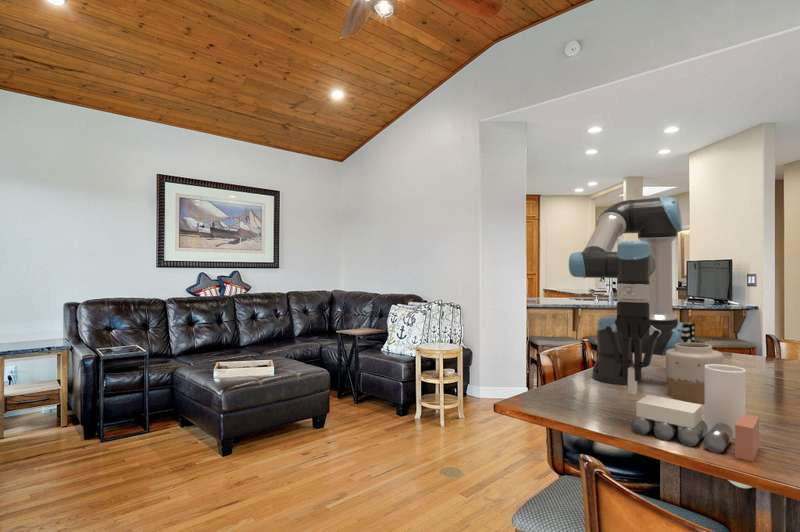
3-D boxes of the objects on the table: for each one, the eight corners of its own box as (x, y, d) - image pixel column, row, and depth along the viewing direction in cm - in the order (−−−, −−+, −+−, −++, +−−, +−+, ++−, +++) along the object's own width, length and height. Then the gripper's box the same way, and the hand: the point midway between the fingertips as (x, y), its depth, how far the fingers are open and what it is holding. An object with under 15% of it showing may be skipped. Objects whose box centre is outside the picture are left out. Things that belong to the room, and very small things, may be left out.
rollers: (631, 432, 110) (631, 416, 111) (643, 422, 118) (643, 407, 118) (725, 455, 97) (725, 436, 97) (733, 442, 104) (733, 425, 104)
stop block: (735, 457, 96) (735, 424, 96) (742, 444, 103) (742, 414, 103) (752, 461, 94) (752, 428, 94) (759, 448, 101) (759, 417, 101)
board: (636, 416, 110) (636, 402, 110) (647, 408, 117) (647, 394, 117) (693, 428, 102) (693, 413, 102) (702, 419, 108) (702, 404, 108)
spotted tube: (686, 379, 164) (686, 324, 164) (664, 374, 171) (664, 322, 172) (699, 377, 168) (699, 323, 168) (677, 372, 175) (677, 321, 175)
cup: (696, 426, 115) (696, 364, 115) (726, 426, 115) (726, 363, 115) (722, 439, 106) (722, 371, 107) (754, 438, 107) (754, 371, 107)
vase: (730, 396, 141) (728, 343, 141) (718, 408, 130) (715, 351, 131) (675, 388, 152) (673, 339, 152) (660, 399, 142) (657, 346, 142)
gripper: (601, 300, 117) (601, 390, 117) (657, 302, 109) (657, 400, 108) (611, 299, 123) (610, 385, 122) (665, 301, 114) (664, 395, 114)
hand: (632, 392), depth 115 cm, fingers closed
